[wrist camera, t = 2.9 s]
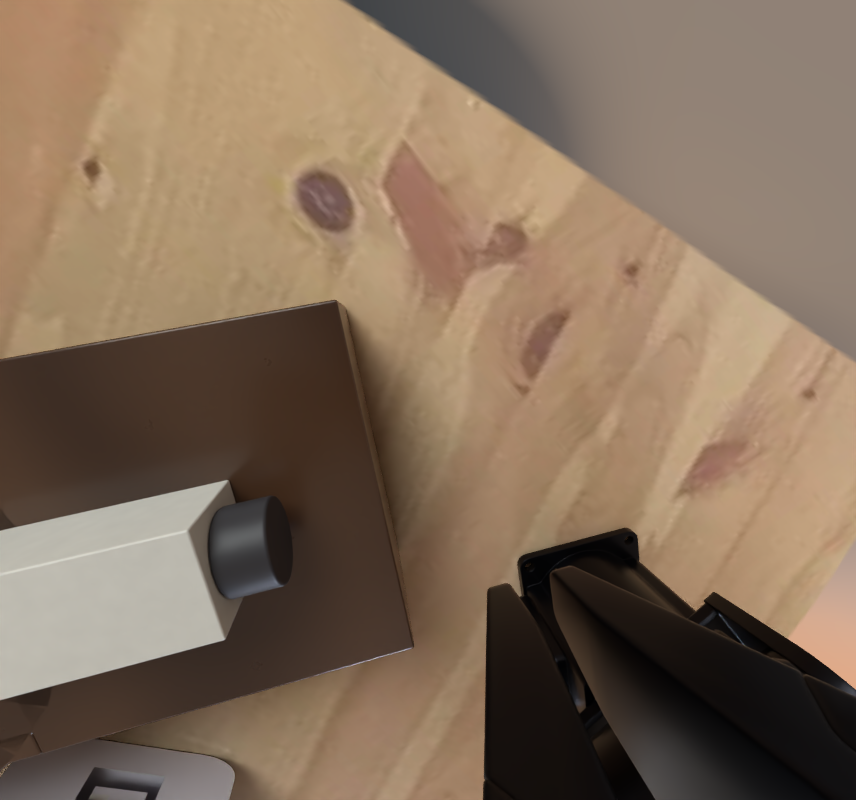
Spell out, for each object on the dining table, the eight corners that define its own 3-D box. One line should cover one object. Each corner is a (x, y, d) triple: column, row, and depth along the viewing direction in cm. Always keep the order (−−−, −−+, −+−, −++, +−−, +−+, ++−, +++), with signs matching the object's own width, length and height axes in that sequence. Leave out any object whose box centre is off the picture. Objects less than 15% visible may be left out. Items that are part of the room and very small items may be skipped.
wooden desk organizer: (338, 275, 17) (326, 254, 11) (404, 574, 20) (421, 677, 14) (-356, 394, 14) (-848, 447, 8) (-151, 719, 17) (-407, 920, 12)
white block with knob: (277, 468, 12) (251, 515, 9) (301, 555, 13) (284, 625, 10) (-73, 546, 11) (-227, 626, 8) (-27, 637, 12) (-154, 742, 9)
